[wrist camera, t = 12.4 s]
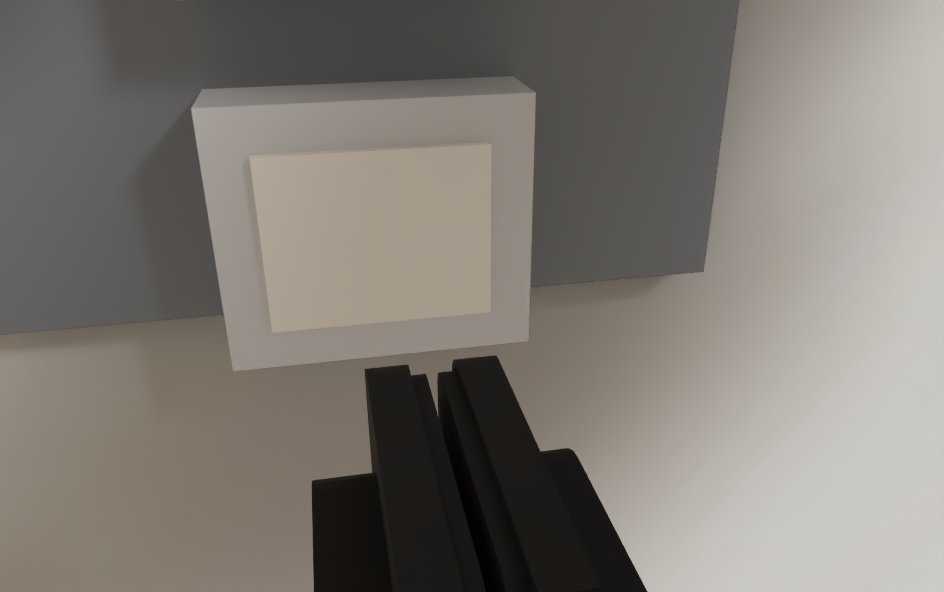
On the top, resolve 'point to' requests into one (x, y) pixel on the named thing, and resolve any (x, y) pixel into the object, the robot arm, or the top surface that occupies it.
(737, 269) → the top surface
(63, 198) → the sled board
